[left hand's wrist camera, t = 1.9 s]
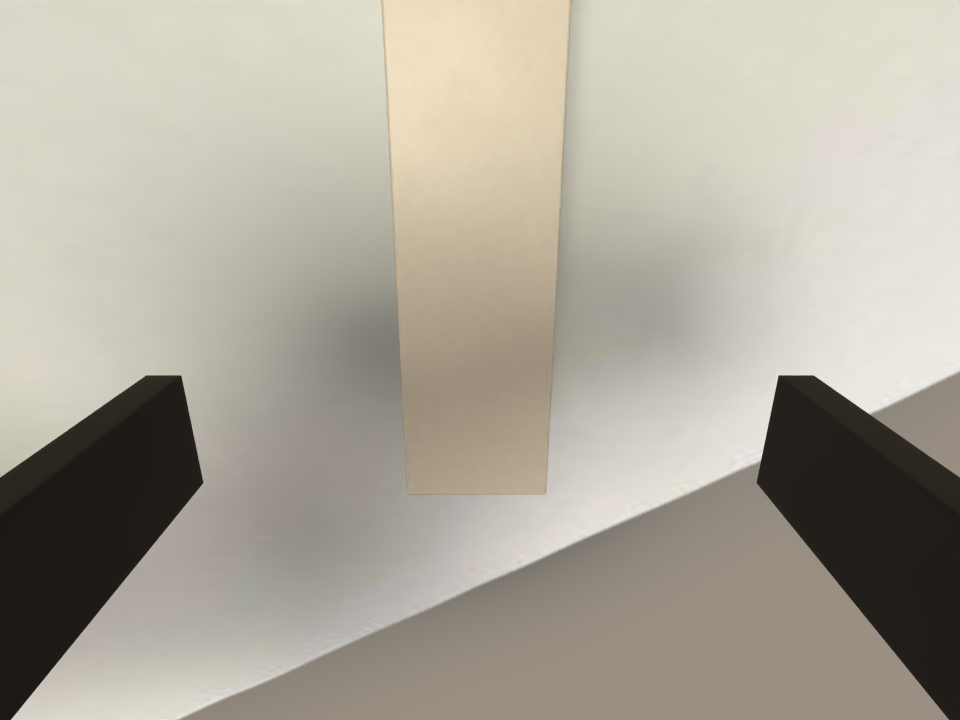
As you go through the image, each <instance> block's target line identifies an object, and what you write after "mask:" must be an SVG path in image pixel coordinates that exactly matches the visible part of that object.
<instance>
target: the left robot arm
mask: <svg viewBox="0 0 960 720" xmlns="http://www.w3.org/2000/svg"><path fill="white" fill-rule="evenodd" d="M202 484H203V479H202V474H201V469H200V464H199V459H198V455H197V450H196V445H195V440H194V435H193V430H192V425H191V421H190V416H189V411H188V406H187V401H186V396H185V391H184V387H183V382H182V377H181V376H145V377H144V378H142V379H141V380H139V381H138V382H136V383H135V384H134V385H132V386H131V387H129V388H128V389H126V390H125V391H124V392H122V393H121V394H119V395H118V396H116V397H115V398H114V399H112V400H111V401H109V402H108V403H106V404H105V405H103V406H102V407H101V408H99V409H98V410H96V411H95V412H93V413H92V414H91V415H89V416H88V417H86V418H85V419H83V420H82V421H81V422H79V423H78V424H76V425H75V426H73V427H72V428H71V429H69V430H68V431H66V432H65V433H63V434H62V435H61V436H59V437H58V438H56V439H55V440H53V441H52V442H51V443H49V444H48V445H46V446H45V447H43V448H42V449H41V450H39V451H38V452H36V453H35V454H33V455H32V456H31V457H29V458H28V459H26V460H25V461H23V462H22V463H20V464H19V465H18V466H16V467H15V468H13V469H12V470H10V471H9V472H8V473H6V474H5V475H3V476H2V477H0V720H11V719H12V718H13V716H14V715H15V714H16V713H17V712H18V710H19V709H20V708H21V707H22V705H23V704H24V703H25V702H26V700H27V699H28V698H29V697H30V696H31V694H32V693H33V692H34V691H35V689H36V688H37V687H38V686H39V684H40V683H41V682H42V681H43V680H44V678H45V677H46V676H47V675H48V673H49V672H50V671H51V670H52V668H53V667H54V666H55V665H56V664H57V662H58V661H59V660H60V659H61V657H62V656H63V655H64V654H65V652H66V651H67V650H68V649H69V648H70V646H71V645H72V644H73V643H74V641H75V640H76V639H77V638H78V636H79V635H80V634H81V633H82V632H83V630H84V629H85V628H86V627H87V625H88V624H89V623H90V622H91V620H92V619H93V618H94V617H95V616H96V614H97V613H98V612H99V611H100V609H101V608H102V607H103V606H104V604H105V603H106V602H107V601H108V600H109V598H110V597H111V596H112V595H113V593H114V592H115V591H116V590H117V588H118V587H119V586H120V585H121V584H122V582H123V581H124V580H125V579H126V577H127V576H128V575H129V574H130V572H131V571H132V570H133V569H134V568H135V566H136V565H137V564H138V563H139V561H140V560H141V559H142V558H143V556H144V555H145V554H146V553H147V552H148V550H149V549H150V548H151V547H152V545H153V544H154V543H155V542H156V540H157V539H158V538H159V537H160V536H161V534H162V533H163V532H164V531H165V529H166V528H167V527H168V526H169V524H170V523H171V522H172V521H173V520H174V518H175V517H176V516H177V515H178V513H179V512H180V511H181V510H182V508H183V507H184V506H185V505H186V504H187V502H188V501H189V500H190V499H191V497H192V496H193V495H194V494H195V492H196V491H197V490H198V489H199V488H200V486H201V485H202ZM757 484H758V485H759V486H760V488H761V489H762V490H763V491H764V492H765V494H766V495H767V496H768V497H769V499H770V500H771V501H772V502H773V504H774V505H775V506H776V507H777V508H778V510H779V511H780V512H781V513H782V515H783V516H784V517H785V518H786V520H787V521H788V522H789V523H790V524H791V526H792V527H793V528H794V529H795V531H796V532H797V533H798V534H799V536H800V537H801V538H802V539H803V540H804V542H805V543H806V544H807V545H808V547H809V548H810V549H811V550H812V552H813V553H814V554H815V555H816V556H817V558H818V559H819V560H820V561H821V563H822V564H823V565H824V566H825V568H826V569H827V570H828V571H829V572H830V574H831V575H832V576H833V577H834V579H835V580H836V581H837V582H838V584H839V585H840V586H841V587H842V588H843V590H844V591H845V592H846V593H847V595H848V596H849V597H850V598H851V600H852V601H853V602H854V603H855V604H856V606H857V607H858V608H859V609H860V611H861V612H862V613H863V614H864V616H865V617H866V618H867V619H868V620H869V622H870V623H871V624H872V625H873V627H874V628H875V629H876V630H877V631H878V633H879V634H880V635H881V636H882V638H883V639H884V640H885V641H886V643H887V644H888V645H889V646H890V648H891V649H892V650H893V651H894V652H895V654H896V655H897V656H898V657H899V659H900V660H901V661H902V662H903V663H904V665H905V666H906V667H907V668H908V670H909V671H910V672H911V673H912V675H913V676H914V677H915V678H916V680H917V681H918V682H919V683H920V684H921V686H922V687H923V688H924V689H925V691H926V692H927V693H928V694H929V696H930V697H931V698H932V699H933V700H934V702H935V703H936V704H937V705H938V707H939V708H940V709H941V710H942V712H943V713H944V714H945V715H946V716H947V718H948V719H949V720H960V478H959V477H958V476H957V475H955V474H954V473H952V472H951V471H950V470H948V469H947V468H945V467H944V466H942V465H941V464H939V463H938V462H937V461H935V460H934V459H932V458H931V457H929V456H928V455H927V454H925V453H924V452H922V451H921V450H919V449H918V448H917V447H915V446H914V445H912V444H911V443H909V442H908V441H907V440H905V439H904V438H902V437H901V436H899V435H898V434H897V433H895V432H894V431H892V430H891V429H889V428H888V427H887V426H885V425H884V424H882V423H881V422H879V421H878V420H876V419H875V418H874V417H872V416H871V415H869V414H868V413H867V412H865V411H864V410H862V409H861V408H859V407H858V406H857V405H855V404H854V403H852V402H851V401H849V400H848V399H846V398H845V397H844V396H842V395H841V394H839V393H838V392H836V391H835V390H834V389H832V388H831V387H829V386H828V385H826V384H825V383H824V382H822V381H821V380H819V379H818V378H816V377H815V376H779V377H778V382H777V387H776V391H775V396H774V401H773V406H772V411H771V416H770V421H769V425H768V430H767V435H766V440H765V445H764V450H763V455H762V459H761V464H760V469H759V474H758V479H757Z"/></svg>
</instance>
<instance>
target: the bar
mask: <svg viewBox="0 0 960 720" xmlns="http://www.w3.org/2000/svg"><path fill="white" fill-rule="evenodd" d="M381 2H382V21H383V40H384V59H385V78H386V97H387V116H388V135H389V154H390V173H391V191H392V210H393V229H394V248H395V267H396V286H397V305H398V324H399V343H400V362H401V381H402V400H403V419H404V438H405V457H406V476H407V493H408V494H409V495H431V494H545V493H546V484H547V464H548V445H549V425H550V406H551V386H552V367H553V347H554V328H555V308H556V289H557V269H558V250H559V230H560V211H561V191H562V171H563V152H564V132H565V113H566V93H567V74H568V54H569V35H570V15H571V0H381Z"/></svg>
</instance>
